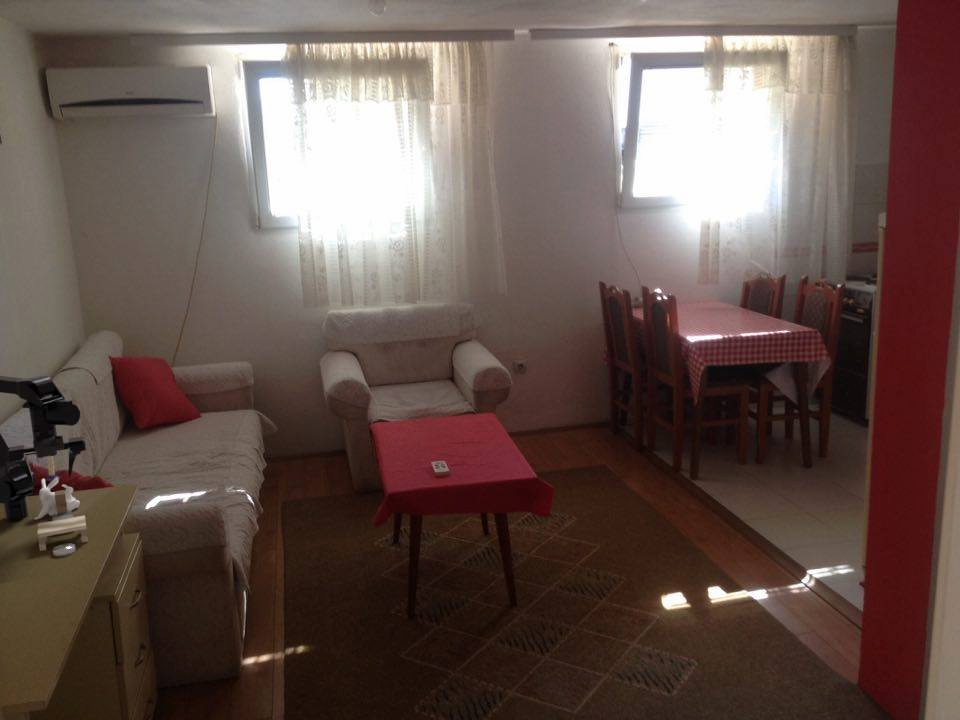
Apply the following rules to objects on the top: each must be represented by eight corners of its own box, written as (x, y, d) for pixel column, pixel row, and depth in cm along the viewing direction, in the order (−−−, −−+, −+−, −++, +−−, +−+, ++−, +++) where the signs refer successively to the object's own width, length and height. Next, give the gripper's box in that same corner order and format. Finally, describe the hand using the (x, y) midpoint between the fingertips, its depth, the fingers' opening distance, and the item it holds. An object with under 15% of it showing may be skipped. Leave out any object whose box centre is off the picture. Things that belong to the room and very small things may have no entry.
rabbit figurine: (33, 520, 231) (28, 487, 229) (32, 512, 237) (28, 479, 236) (81, 511, 237) (76, 478, 235) (79, 503, 243) (74, 471, 241)
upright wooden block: (52, 516, 233) (49, 492, 232) (73, 512, 235) (69, 489, 234) (52, 535, 219) (49, 510, 218) (74, 531, 221) (71, 506, 220)
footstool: (40, 540, 216) (37, 523, 215) (87, 531, 221) (84, 515, 220) (40, 551, 209) (37, 534, 208) (88, 541, 214) (85, 525, 213)
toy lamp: (64, 480, 265) (57, 429, 262) (50, 484, 261) (42, 433, 258) (55, 478, 267) (48, 427, 264) (41, 482, 264) (34, 431, 260)
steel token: (54, 551, 209) (53, 546, 209) (76, 547, 211) (75, 541, 211) (52, 559, 205) (52, 553, 204) (75, 554, 207) (74, 549, 206)
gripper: (2, 436, 213) (10, 494, 216) (82, 425, 221) (90, 481, 224) (4, 426, 223) (12, 482, 226) (81, 416, 231) (88, 470, 234)
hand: (51, 479), depth 227 cm, fingers open, 9 cm apart
